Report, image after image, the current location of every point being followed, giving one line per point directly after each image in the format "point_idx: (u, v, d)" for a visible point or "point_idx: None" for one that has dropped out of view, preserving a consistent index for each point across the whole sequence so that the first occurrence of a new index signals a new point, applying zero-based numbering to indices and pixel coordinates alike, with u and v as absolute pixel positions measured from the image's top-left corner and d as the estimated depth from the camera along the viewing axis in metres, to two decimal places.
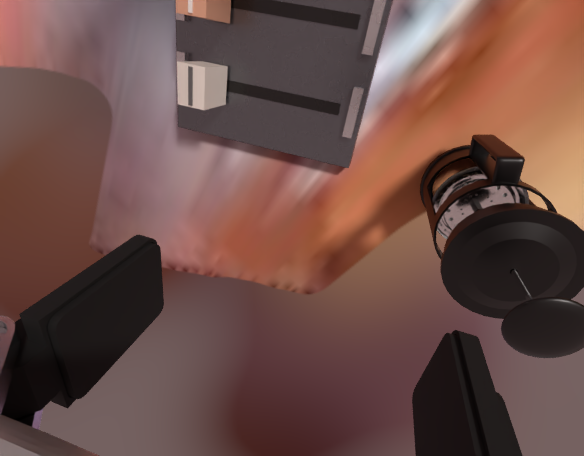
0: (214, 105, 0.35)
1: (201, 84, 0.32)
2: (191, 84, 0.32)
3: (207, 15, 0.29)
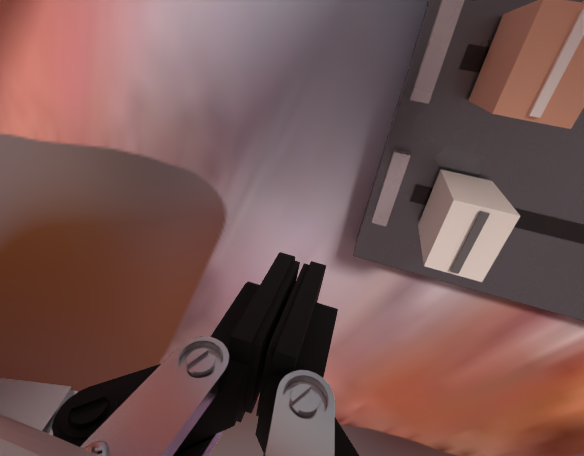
0: None
1: (495, 242, 0.16)
2: (474, 241, 0.16)
3: (570, 122, 0.13)
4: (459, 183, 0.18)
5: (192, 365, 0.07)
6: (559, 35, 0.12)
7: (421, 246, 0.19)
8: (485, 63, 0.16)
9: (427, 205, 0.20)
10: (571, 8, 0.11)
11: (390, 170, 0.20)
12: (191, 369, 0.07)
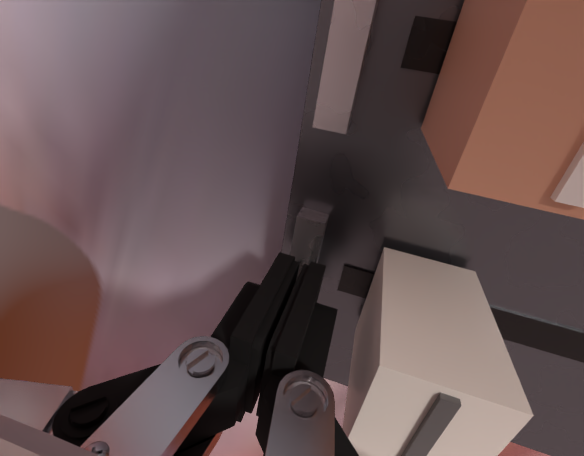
0: None
1: (477, 451, 0.07)
2: (430, 445, 0.07)
3: None
4: (409, 290, 0.09)
5: (192, 365, 0.07)
6: None
7: (347, 393, 0.10)
8: (448, 54, 0.08)
9: (365, 304, 0.12)
10: None
11: (295, 246, 0.11)
12: (191, 369, 0.07)
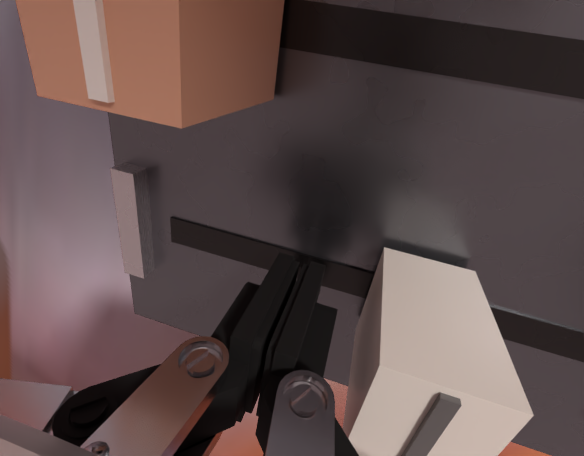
0: None
1: (477, 450, 0.07)
2: (430, 445, 0.07)
3: (189, 113, 0.06)
4: (409, 290, 0.09)
5: (192, 365, 0.07)
6: None
7: (347, 393, 0.10)
8: None
9: (365, 304, 0.12)
10: None
11: (117, 197, 0.13)
12: (191, 369, 0.07)
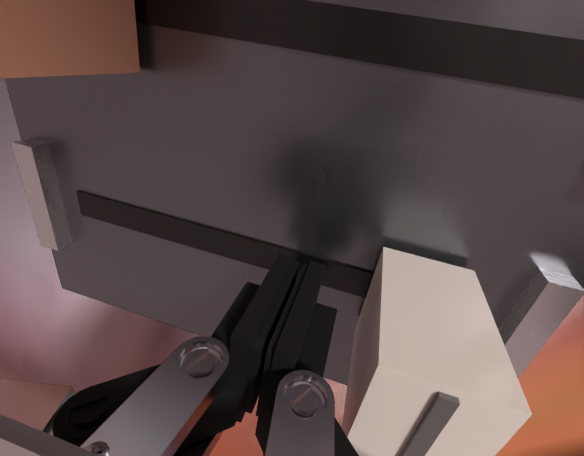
0: None
1: (476, 450, 0.07)
2: (428, 444, 0.07)
3: None
4: (408, 289, 0.09)
5: (192, 365, 0.07)
6: None
7: None
8: None
9: (365, 304, 0.12)
10: None
11: (21, 170, 0.13)
12: (191, 369, 0.07)
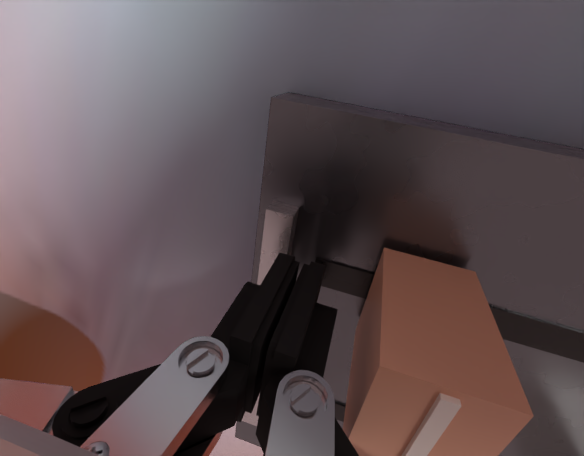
0: None
1: None
2: None
3: None
4: None
5: (192, 365, 0.07)
6: (413, 411, 0.07)
7: None
8: (367, 302, 0.12)
9: None
10: (424, 387, 0.07)
11: None
12: (191, 369, 0.07)
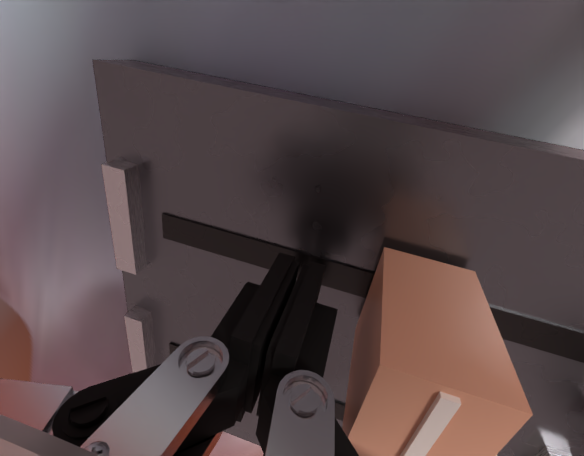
0: None
1: None
2: None
3: None
4: None
5: (192, 365, 0.07)
6: (413, 410, 0.07)
7: None
8: (367, 301, 0.12)
9: None
10: (424, 385, 0.07)
11: (128, 333, 0.17)
12: (191, 369, 0.07)
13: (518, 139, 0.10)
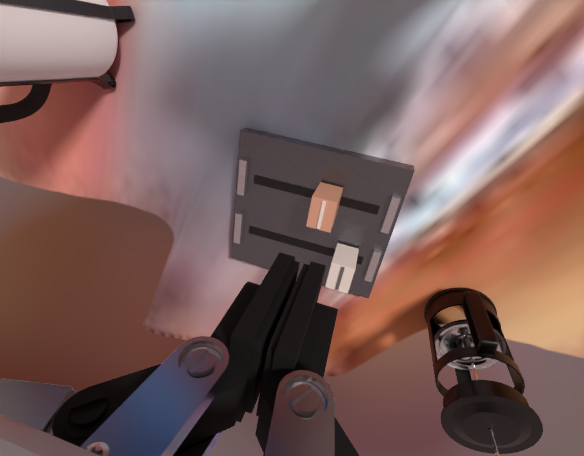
0: None
1: (349, 278, 0.40)
2: (341, 277, 0.40)
3: None
4: (340, 252, 0.42)
5: (192, 365, 0.07)
6: (319, 206, 0.37)
7: None
8: None
9: None
10: (320, 199, 0.36)
11: (235, 220, 0.46)
12: (191, 369, 0.07)
13: (352, 153, 0.40)
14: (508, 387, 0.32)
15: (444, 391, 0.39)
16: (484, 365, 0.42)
